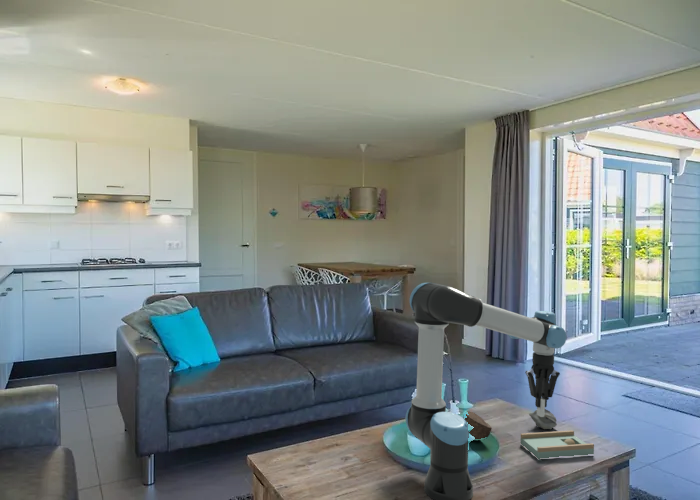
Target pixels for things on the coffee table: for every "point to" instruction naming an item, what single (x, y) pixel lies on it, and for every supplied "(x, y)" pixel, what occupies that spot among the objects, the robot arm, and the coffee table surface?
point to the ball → (569, 442)
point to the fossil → (544, 420)
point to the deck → (555, 444)
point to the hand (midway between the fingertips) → (540, 415)
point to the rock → (478, 426)
